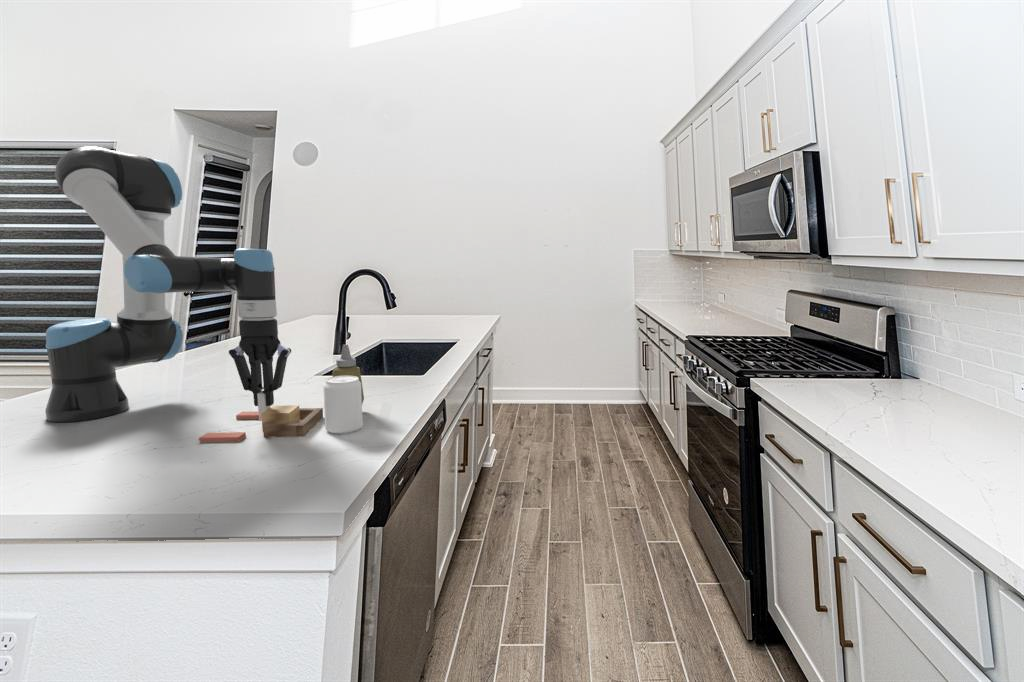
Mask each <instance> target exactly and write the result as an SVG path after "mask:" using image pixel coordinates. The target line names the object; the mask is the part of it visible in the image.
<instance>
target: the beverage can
mask: <svg viewBox="0 0 1024 682" xmlns="http://www.w3.org/2000/svg"><path fill="white" fill-rule="evenodd" d="M323 406H324V408H323V409H324V424H325V425H324V426H325V430H326V431H327V432H329V433H332V434H337V435H341V434H343V435H345V434H350V433H353V432H356V431H358V430H359V429H361V428H362V427H363V404H362V396H361V382H360V381H359V378H358V377H356V376H335V377H332V376H331V377H328V378H326V379H325V382H324V384H323Z"/></svg>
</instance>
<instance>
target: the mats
mask: <svg viewBox="0 0 1024 682" xmlns="http://www.w3.org/2000/svg"><path fill="white" fill-rule="evenodd" d="M235 419H236V420H259V411H241V412H239V413H238V414H236V415H235ZM246 432H247V431H241V432H238V431H237V432H235V431H234V432H232V431H230V432H229V431H228V432H206V433H204V434H203V435H201V436H199V437H198V442H199V443H227V442H228V443H229V442H230V443H232V442H233V443H235V442H236V443H237V442H238V443H239V442H240V441H242V440H243V439H245V438H246V437H247V434H246Z"/></svg>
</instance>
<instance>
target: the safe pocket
mask: <svg viewBox="0 0 1024 682" xmlns="http://www.w3.org/2000/svg"><path fill="white" fill-rule="evenodd" d="M323 410H324V408H323V407H315V408H314V407H309V408H308V407H307V408H306V407H304V408H302V407H301V408H300V407H299V411H300V423H299V424H265V425H264V426H263V430H262V433H263V438H281V437H282V438H283V437H284V438H285V437H286V438H287V437H288V438H289V437H291V438H292V437H294V438H295V437H296V438H297V437H305V436H306V435H307V434H308V433H309V432H310V431H311V430H312V429H313V428H314V427H315V426H316V425H317V424H318V423H319V422H320V421H322V419H323V418H324V411H323Z"/></svg>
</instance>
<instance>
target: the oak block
mask: <svg viewBox="0 0 1024 682" xmlns="http://www.w3.org/2000/svg"><path fill="white" fill-rule="evenodd" d="M299 408H300V405H294V404H293V405H271V406H270V408H269V409H267V410H266V411H264V412H263V413H261V416H262V421H261V427H262V428H261V429H262V431H263V426H264V425H265V424H299V423H300V422H301V420H300V411H299Z"/></svg>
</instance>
